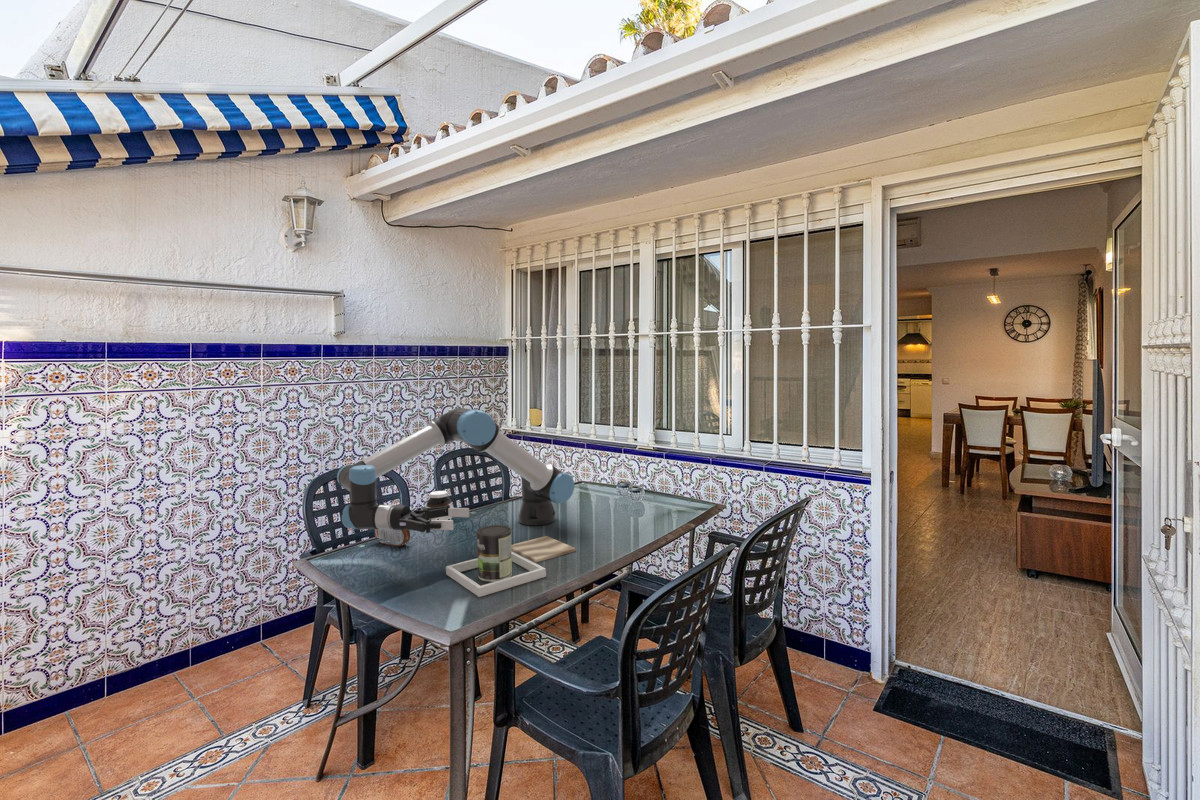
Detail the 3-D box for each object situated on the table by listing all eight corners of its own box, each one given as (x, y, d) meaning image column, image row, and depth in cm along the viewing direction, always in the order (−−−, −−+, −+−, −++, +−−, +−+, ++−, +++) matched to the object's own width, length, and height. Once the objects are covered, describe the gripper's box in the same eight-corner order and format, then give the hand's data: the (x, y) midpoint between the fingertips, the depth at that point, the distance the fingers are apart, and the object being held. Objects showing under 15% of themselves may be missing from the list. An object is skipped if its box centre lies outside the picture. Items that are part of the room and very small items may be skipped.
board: (507, 548, 195) (507, 545, 195) (546, 538, 205) (546, 535, 205) (535, 562, 181) (535, 559, 181) (575, 551, 191) (575, 548, 191)
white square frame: (446, 574, 173) (445, 566, 173) (509, 557, 187) (509, 549, 186) (479, 597, 156) (478, 588, 156) (545, 576, 170) (545, 568, 169)
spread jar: (440, 516, 237) (439, 489, 236) (462, 519, 232) (461, 491, 232) (420, 524, 227) (419, 495, 226) (442, 527, 222) (441, 498, 221)
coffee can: (482, 584, 164) (480, 537, 163) (474, 572, 174) (473, 528, 173) (516, 578, 169) (515, 532, 168) (507, 567, 178) (506, 523, 177)
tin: (411, 545, 200) (410, 522, 200) (404, 548, 198) (403, 525, 197) (379, 540, 207) (378, 518, 206) (373, 543, 204) (371, 520, 203)
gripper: (412, 518, 186) (474, 519, 183) (374, 542, 161) (445, 544, 159) (411, 495, 185) (474, 496, 183) (373, 516, 160) (445, 517, 158)
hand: (461, 518), depth 171 cm, fingers open, 13 cm apart
